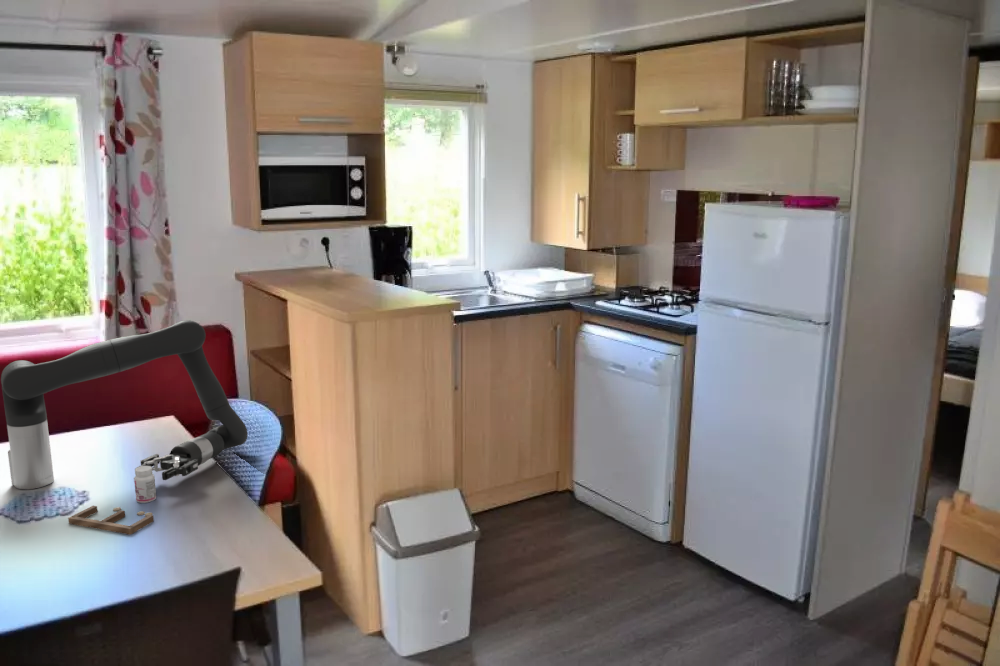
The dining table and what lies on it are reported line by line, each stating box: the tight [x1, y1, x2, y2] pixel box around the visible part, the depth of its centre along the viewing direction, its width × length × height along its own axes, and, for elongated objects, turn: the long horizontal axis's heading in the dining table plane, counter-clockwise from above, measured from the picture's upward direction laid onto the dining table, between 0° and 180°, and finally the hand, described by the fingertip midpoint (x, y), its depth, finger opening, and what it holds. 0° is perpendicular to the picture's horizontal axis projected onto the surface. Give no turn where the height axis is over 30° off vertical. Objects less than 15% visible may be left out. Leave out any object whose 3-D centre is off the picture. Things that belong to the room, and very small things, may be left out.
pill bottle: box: [133, 465, 157, 504], centre depth 208 cm, size 5×5×8 cm
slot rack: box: [67, 505, 155, 536], centre depth 197 cm, size 18×11×2 cm, turn 71°
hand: (149, 474), depth 210 cm, fingers open, 8 cm apart
